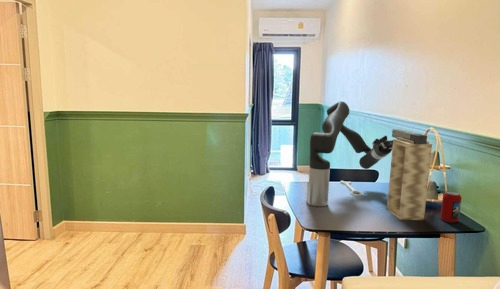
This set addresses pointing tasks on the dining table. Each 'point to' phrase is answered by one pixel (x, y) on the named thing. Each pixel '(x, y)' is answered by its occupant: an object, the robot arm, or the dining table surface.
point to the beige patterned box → (408, 179)
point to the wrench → (351, 188)
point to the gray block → (410, 136)
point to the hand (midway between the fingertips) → (395, 137)
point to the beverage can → (451, 206)
